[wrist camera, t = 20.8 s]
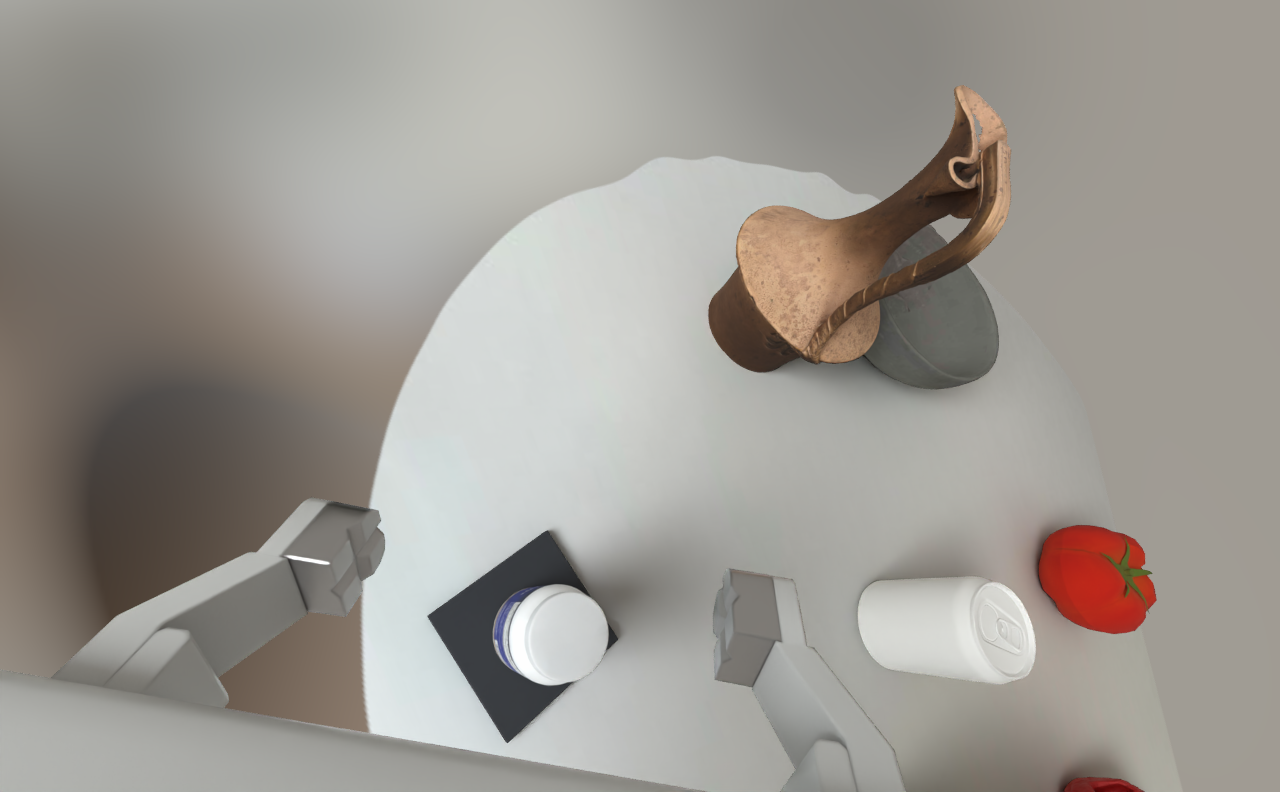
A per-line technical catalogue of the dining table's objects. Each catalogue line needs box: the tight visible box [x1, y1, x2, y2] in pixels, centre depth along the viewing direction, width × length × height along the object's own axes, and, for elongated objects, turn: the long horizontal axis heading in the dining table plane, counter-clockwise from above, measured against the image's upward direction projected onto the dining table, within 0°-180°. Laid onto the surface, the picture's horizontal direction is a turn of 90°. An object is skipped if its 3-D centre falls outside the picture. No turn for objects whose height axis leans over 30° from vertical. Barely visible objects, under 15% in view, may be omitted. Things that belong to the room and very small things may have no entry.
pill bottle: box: [493, 584, 609, 685], centre depth 33 cm, size 6×6×10 cm
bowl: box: [864, 224, 999, 389], centre depth 62 cm, size 20×20×10 cm
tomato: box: [1039, 525, 1156, 634], centre depth 61 cm, size 13×12×8 cm
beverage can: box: [858, 576, 1036, 685], centre depth 46 cm, size 8×8×12 cm
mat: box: [428, 531, 618, 743], centre depth 37 cm, size 10×10×1 cm
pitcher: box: [708, 85, 1011, 372], centre depth 45 cm, size 18×17×28 cm
